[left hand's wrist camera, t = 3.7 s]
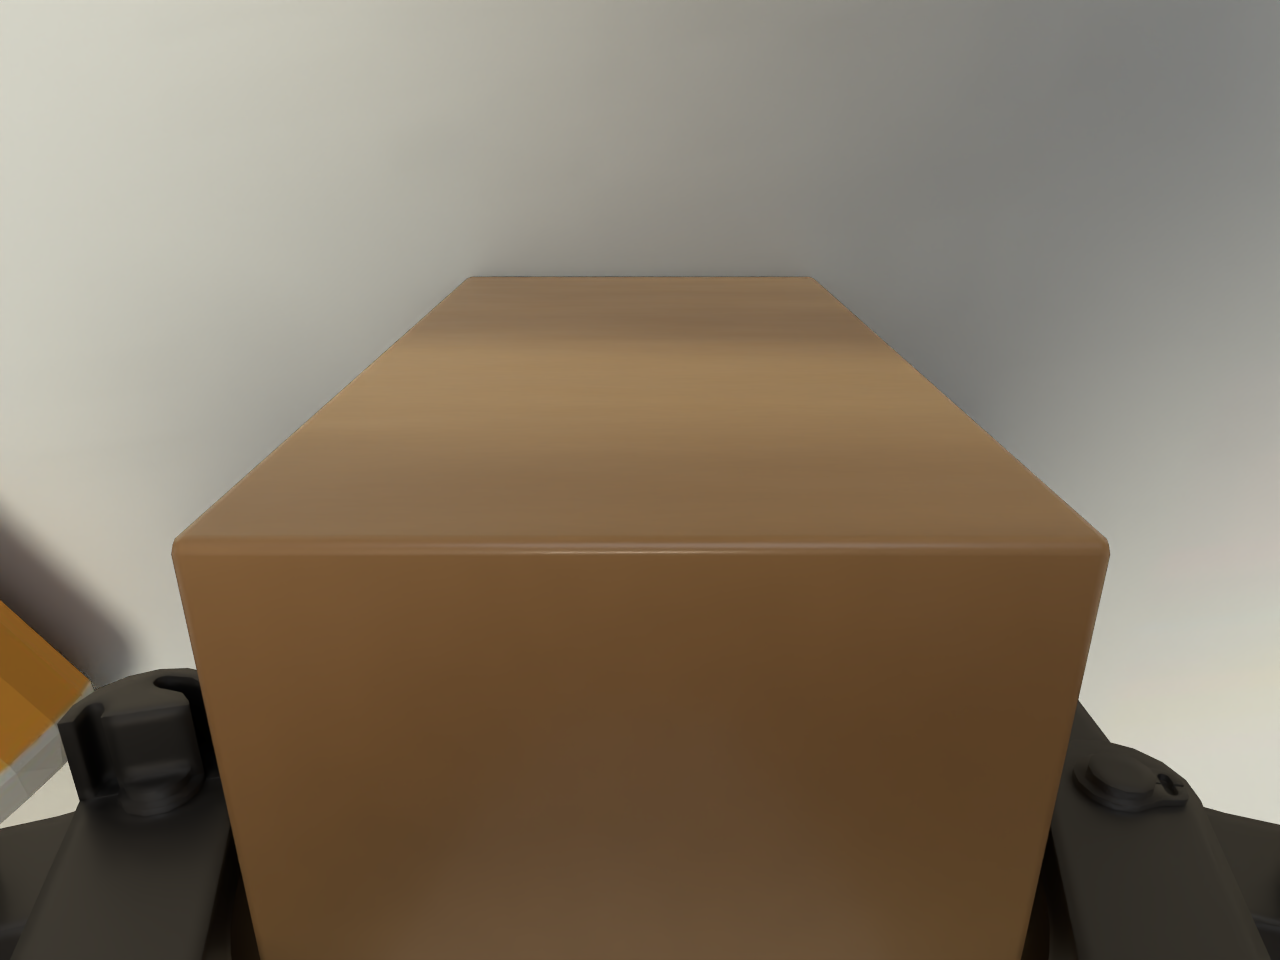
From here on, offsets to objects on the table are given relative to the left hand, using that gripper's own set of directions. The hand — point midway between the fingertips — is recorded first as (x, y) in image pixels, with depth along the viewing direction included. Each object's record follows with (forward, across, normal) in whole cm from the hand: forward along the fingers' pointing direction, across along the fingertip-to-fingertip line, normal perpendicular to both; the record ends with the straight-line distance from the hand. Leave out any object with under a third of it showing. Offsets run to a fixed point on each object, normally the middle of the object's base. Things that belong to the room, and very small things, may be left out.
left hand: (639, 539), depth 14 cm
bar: (+1, 0, -8) cm, 8 cm away
